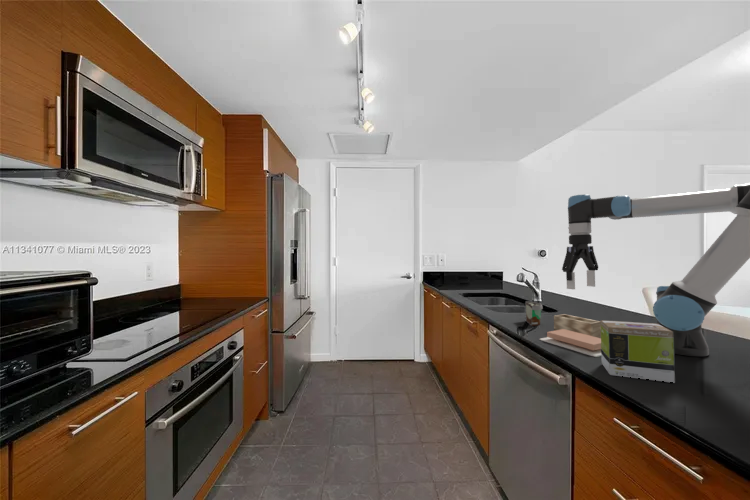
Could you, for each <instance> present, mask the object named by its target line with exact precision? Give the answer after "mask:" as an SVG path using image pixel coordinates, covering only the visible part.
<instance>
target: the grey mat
mask: <svg viewBox="0 0 750 500" xmlns="http://www.w3.org/2000/svg"><path fill="white" fill-rule="evenodd" d="M539 341H542V342H545V343H548V344H551V345H555V346H559V347H561V348H565V349H568V350H570V351H575V352H578V353H580V354H584V355H588V356H591V357H594V358H599V357H600V358H601V349H597V350H590V349H587V348H583V347H580V346H576V345H573V344H569V343H566V342H563V341H559V340H556V339H553V338H549V337H547V336H546V337H540V338H539Z"/></svg>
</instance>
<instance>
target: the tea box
mask: <svg viewBox="0 0 750 500" xmlns="http://www.w3.org/2000/svg"><path fill="white" fill-rule="evenodd" d="M600 321H601V356H600V358H601V364H602V366H603V367H604V369H605V370H606V371H607V373H608V374H609V375H610V376H615V377H616V376H617V377H622V376H623V378H630V377H631V378H632V379H638V378H640V380H646V379H649V380H648V381H655V380H656V382H662V381H664V382H665V383H670V382H673V383H672V384H675V383H676V374H675V368H676V367H675V354H674V337H673V331H671V330H669V329H667V328H665V327H663V326H661V325H659V324H657V323H652V322H651V323H650V322H632V321H620V320H619V321H618V320H605V319H604V320H600ZM631 378H630V379H631Z"/></svg>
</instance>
